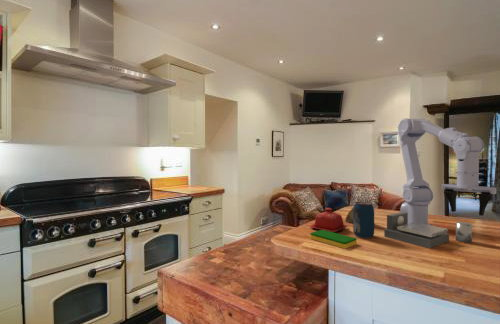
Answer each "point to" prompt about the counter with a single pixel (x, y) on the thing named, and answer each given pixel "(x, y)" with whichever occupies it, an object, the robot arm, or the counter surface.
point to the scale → (408, 237)
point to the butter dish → (328, 221)
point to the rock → (351, 215)
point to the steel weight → (464, 232)
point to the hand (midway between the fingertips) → (467, 213)
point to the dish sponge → (333, 239)
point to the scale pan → (422, 229)
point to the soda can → (363, 219)
